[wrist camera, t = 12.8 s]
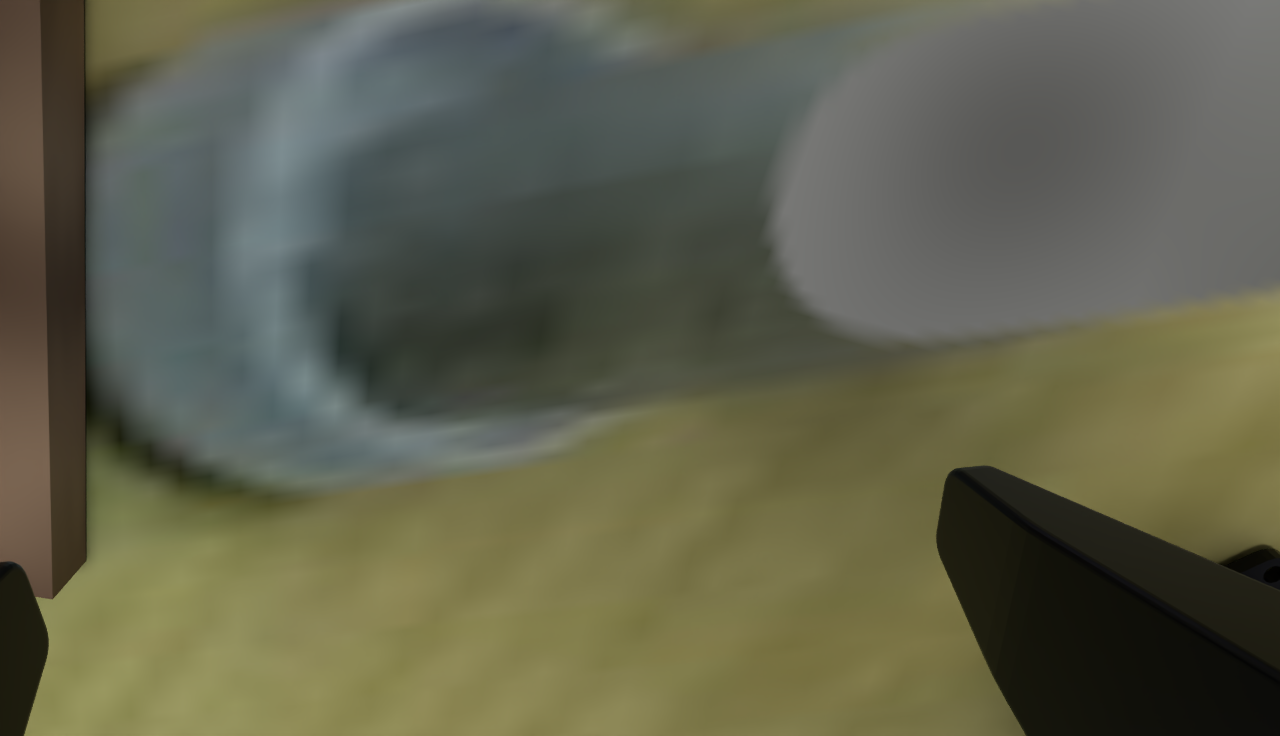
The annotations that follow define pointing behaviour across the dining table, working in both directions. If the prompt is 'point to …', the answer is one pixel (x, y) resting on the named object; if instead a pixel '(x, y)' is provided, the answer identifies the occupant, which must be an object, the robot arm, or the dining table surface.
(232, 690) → the dining table surface
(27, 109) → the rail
